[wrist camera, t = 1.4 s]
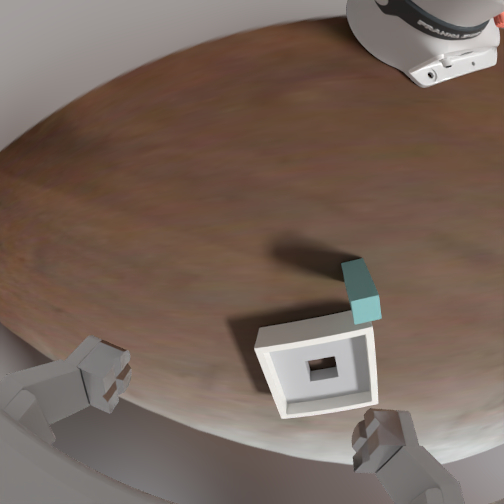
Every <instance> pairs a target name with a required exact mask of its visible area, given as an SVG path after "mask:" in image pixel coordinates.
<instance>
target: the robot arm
mask: <svg viewBox="0 0 504 504" xmlns="http://www.w3.org/2000/svg"><path fill="white" fill-rule="evenodd" d="M346 11H347V19H348V22H349V25H350V28H351V30H352V32H353V33H354V35H355V37H356V38H357V39H358V41H359V42H360V43H361V44H362V45H363V46H364V47H365V48H366V49H367V50H368V51H369V52H370V53H371V54H372V55H374V56H375V57H376V58H378V59H379V60H381V61H383V62H384V63H386V64H388V65H390V66H393V67H395V68H397V69H399V70H401V71H402V72H404V73H405V74H406V75H407V76H408V77H409V78H410V79H411V80H412V81H413V82H414V83H415V84H417V85H418V86H420V87H423V88H425V87H429V86H432V85H435V84H438V83H440V82H443V81H446V80H449V79H452V78H456V77H459V76H462V75H465V74H468V73H471V72H475V71H478V70H482V69H485V68H488V67H491V66H493V65H495V64H496V61H497V49H496V47H497V46H498V45H499V42H500V33H499V28H498V27H500V28H504V0H348V1H347V7H346ZM428 73H429V74H431V76H432V78H429V76H428ZM129 360H130V352H129V351H127V350H125V349H123V348H120V347H118V346H116V345H113V344H111V343H109V342H107V341H104V340H102V339H99V338H97V337H95V336H93V335H91V336H88V337H87V338H86V339H85V340H84V341H83V342H82V343H81V344H80V345H79V346H78V347H77V348H76V349H75V350H74V351H73V352H72V353H71V354H70V355H69V357H68V358H67V359H66V360H65V361H63V360H58V361H54V362H51V363H47V364H44V365H40V366H36V367H33V368H29V369H25V370H22V371H18V372H14V373H10V374H7V375H6V376H5V377H4V378H3V379H2V380H1V381H0V504H177V503H174V502H171V501H168V500H165V499H162V498H159V497H156V496H154V495H151V494H148V493H145V492H143V491H140V490H138V489H136V488H133V487H131V486H128V485H126V484H124V483H121V482H119V481H117V480H115V479H113V478H110V477H108V476H106V475H104V474H102V473H100V472H98V471H96V470H94V469H92V468H90V467H88V466H86V465H84V464H83V463H81V462H79V461H77V460H75V459H73V458H72V457H70V456H68V455H67V454H65V453H63V452H62V451H60V450H58V449H56V448H55V447H53V446H52V444H53V443H54V441H55V436H54V434H53V432H52V430H51V428H50V426H49V425H50V424H53V423H55V422H57V421H59V420H61V419H63V418H65V417H67V416H70V415H71V414H74V413H75V412H78V411H79V410H82V409H84V408H86V407H88V406H89V405H92V406H94V407H96V408H98V409H100V410H103V411H105V412H107V413H110V414H111V412H112V411H113V409H114V408H115V406H116V405H117V403H118V401H119V400H118V395H119V394H121V393H124V392H125V391H126V389H127V387H128V385H129V383H130V380H131V367H130V366H129V365H128V362H129ZM352 447H353V449H354V450H355V451H356V454H355V455H354V456H353V466H354V472H358V473H376V474H375V475H376V476H377V478H378V479H379V481H380V482H381V484H382V485H383V487H384V488H385V490H386V491H387V493H388V494H389V496H390V497H391V499H392V500H393V502H394V503H395V504H465V503H464V498H463V494H462V490H461V486H460V483H459V482H458V481H457V480H456V479H455V478H454V477H453V476H452V475H451V474H450V473H449V472H448V471H447V470H446V469H445V468H444V467H443V466H442V465H441V464H440V463H439V462H438V461H437V460H436V459H435V458H434V457H433V456H432V455H431V454H430V453H429V452H428V451H427V450H426V449H425V448H424V447H423V446H419V443H418V439H417V436H416V432H415V428H414V425H413V421H412V418H411V414H410V413H409V411H399V410H385V409H372V408H370V409H369V410H367V411H366V413H365V414H364V420H363V421H361V422H359V423H358V424H357V426H356V427H355V429H354V432H353V435H352ZM490 504H504V499H501V500H498V501H496V502H493V503H490Z"/></svg>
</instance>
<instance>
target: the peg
mask: <svg viewBox="0 0 504 504" xmlns="http://www.w3.org/2000/svg"><path fill="white" fill-rule="evenodd" d="M341 266H342V271H343V276H344V281H345V286H346V290H347V294H348V298H349V302H350V306H351V311H352V315H353V319H354V324H355V325H356V324H361V323H365V322H369V321H374V320H378V319H381V310H380V301H379V294H378V292H377V289H376V287H375V285H374V282H373V280H372V278H371V275H370V273H369V271H368V269H367V266H366V264H365V262H364V260H363V258H361V259H357V260H353V261H348V262H344V263H341Z"/></svg>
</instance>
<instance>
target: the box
mask: <svg viewBox="0 0 504 504" xmlns="http://www.w3.org/2000/svg"><path fill="white" fill-rule="evenodd" d="M254 349H255V352H256V355H257V357H258V360H259V362H260V365H261V368H262V370H263V373H264V375H265V378H266V380H267V383H268V386H269V388H270V391H271V393H272V396H273V398H274V401H275V403H276V406H277V408H278V411H279V413H280V416H281V418H282V419H284V418H294V417H303V416H311V415H319V414H326V413H332V412H338V411H344V410H350V409H355V408H360V407H365V406H370V405H375V404H378V386H377V369H376V356H375V344H374V334H373V326H372V323H371V321H369V322H365V323H361V324H356V325H355V324H354V319H353V315H352V311H351V310H350V311H345V312H341V313H336V314H331V315H326V316H322V317H317V318H311V319H306V320H301V321H296V322H290V323H284V324H279V325H273V326H267V327H261V328H259V331H258V335H257V339H256V343H255V347H254ZM332 356H335V360H336V365H337V367H332V368H326V369H320V370H314V371H310V367H309V363H308V361H310V360H316V359H321V358H327V357H332Z"/></svg>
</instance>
